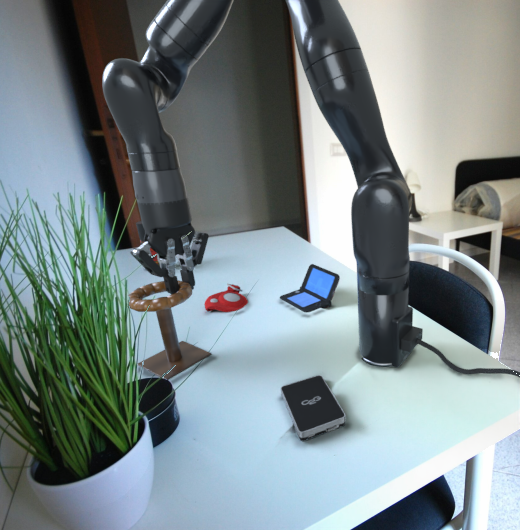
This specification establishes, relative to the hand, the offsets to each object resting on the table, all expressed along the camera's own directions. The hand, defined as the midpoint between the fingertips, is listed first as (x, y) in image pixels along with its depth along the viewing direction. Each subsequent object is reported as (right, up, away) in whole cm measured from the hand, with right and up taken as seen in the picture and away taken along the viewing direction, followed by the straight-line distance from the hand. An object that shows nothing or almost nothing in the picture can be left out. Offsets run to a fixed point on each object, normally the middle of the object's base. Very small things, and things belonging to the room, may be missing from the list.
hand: (182, 291), depth 67 cm
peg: (-2, -14, +1) cm, 14 cm away
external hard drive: (+25, -18, -11) cm, 33 cm away
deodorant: (-34, +4, +52) cm, 62 cm away
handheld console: (+20, -5, +25) cm, 32 cm away
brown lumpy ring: (-2, 0, -4) cm, 4 cm away
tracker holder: (0, -5, +24) cm, 25 cm away
